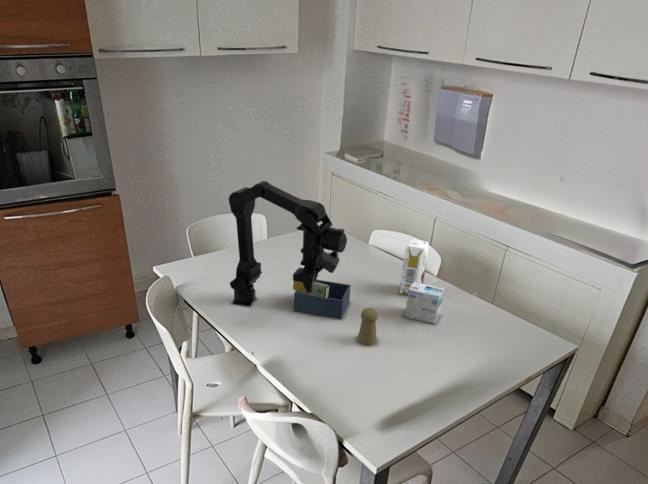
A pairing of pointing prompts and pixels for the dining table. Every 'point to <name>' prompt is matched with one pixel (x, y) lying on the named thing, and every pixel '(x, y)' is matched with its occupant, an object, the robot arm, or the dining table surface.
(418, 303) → the light bulb box
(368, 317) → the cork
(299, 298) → the dark blue open bin
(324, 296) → the medication box
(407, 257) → the juice carton
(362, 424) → the dining table surface
